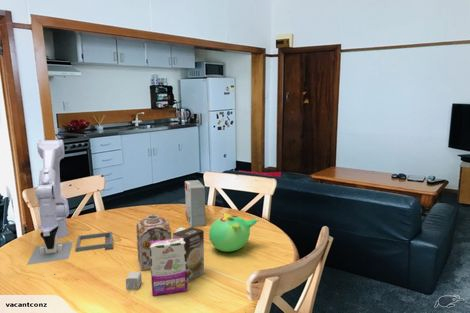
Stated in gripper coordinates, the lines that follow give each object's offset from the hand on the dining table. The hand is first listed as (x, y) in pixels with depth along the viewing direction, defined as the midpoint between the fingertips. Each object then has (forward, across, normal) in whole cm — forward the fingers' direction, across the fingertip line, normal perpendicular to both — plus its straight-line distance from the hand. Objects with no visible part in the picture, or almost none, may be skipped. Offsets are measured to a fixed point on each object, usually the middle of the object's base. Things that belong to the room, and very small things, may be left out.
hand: (51, 247), depth 138 cm
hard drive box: (+3, -18, +63) cm, 66 cm away
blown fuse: (+2, 0, 0) cm, 2 cm away
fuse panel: (+3, 0, 0) cm, 3 cm away
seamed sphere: (+3, +7, +52) cm, 53 cm away
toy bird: (+3, +20, +69) cm, 72 cm away
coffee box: (+3, +36, +48) cm, 60 cm away
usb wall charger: (+3, +38, +29) cm, 48 cm away
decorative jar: (+3, +21, +38) cm, 44 cm away
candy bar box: (+3, +43, +40) cm, 59 cm away
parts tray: (+3, -4, +16) cm, 17 cm away
